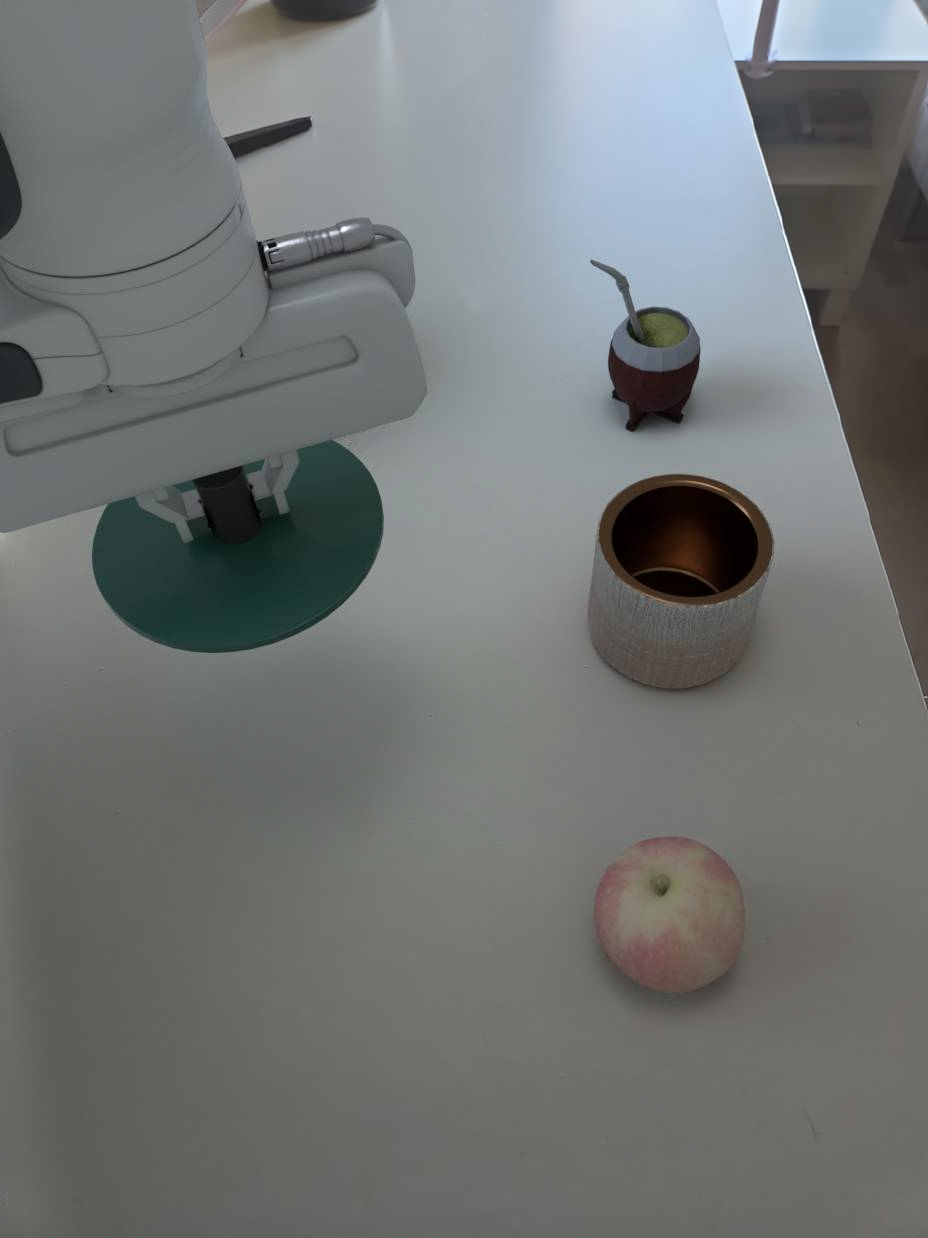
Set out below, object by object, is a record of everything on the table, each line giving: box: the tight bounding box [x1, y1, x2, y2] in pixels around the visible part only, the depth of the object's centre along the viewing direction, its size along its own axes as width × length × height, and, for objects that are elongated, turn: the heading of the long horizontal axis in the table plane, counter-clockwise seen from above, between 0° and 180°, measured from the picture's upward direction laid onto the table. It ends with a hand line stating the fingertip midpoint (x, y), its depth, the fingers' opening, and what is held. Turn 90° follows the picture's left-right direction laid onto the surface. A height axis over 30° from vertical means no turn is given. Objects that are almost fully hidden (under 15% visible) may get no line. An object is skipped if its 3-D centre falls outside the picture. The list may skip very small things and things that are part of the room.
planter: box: [587, 473, 775, 689], centre depth 62 cm, size 11×11×10 cm
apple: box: [593, 836, 746, 994], centre depth 51 cm, size 8×8×8 cm
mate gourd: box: [589, 259, 702, 432], centre depth 73 cm, size 8×8×15 cm
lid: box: [91, 439, 385, 654], centre depth 46 cm, size 14×14×5 cm
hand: (234, 518), depth 47 cm, fingers closed on lid, 2 cm apart
